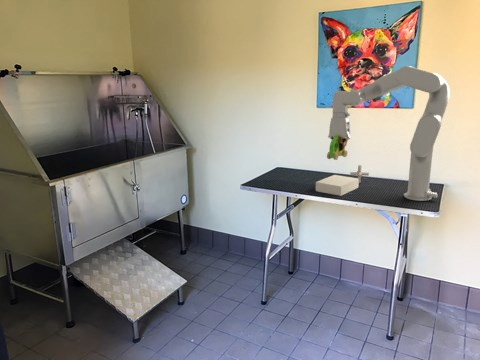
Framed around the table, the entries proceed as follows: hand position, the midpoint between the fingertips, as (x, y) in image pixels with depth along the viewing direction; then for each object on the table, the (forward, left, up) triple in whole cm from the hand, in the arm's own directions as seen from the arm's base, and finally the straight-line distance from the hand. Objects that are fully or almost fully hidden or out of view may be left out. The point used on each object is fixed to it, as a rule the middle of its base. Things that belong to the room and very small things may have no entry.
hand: (338, 149), depth 212 cm
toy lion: (0, 0, -4) cm, 4 cm away
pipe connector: (-3, -20, -22) cm, 30 cm away
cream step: (0, 0, -22) cm, 22 cm away
